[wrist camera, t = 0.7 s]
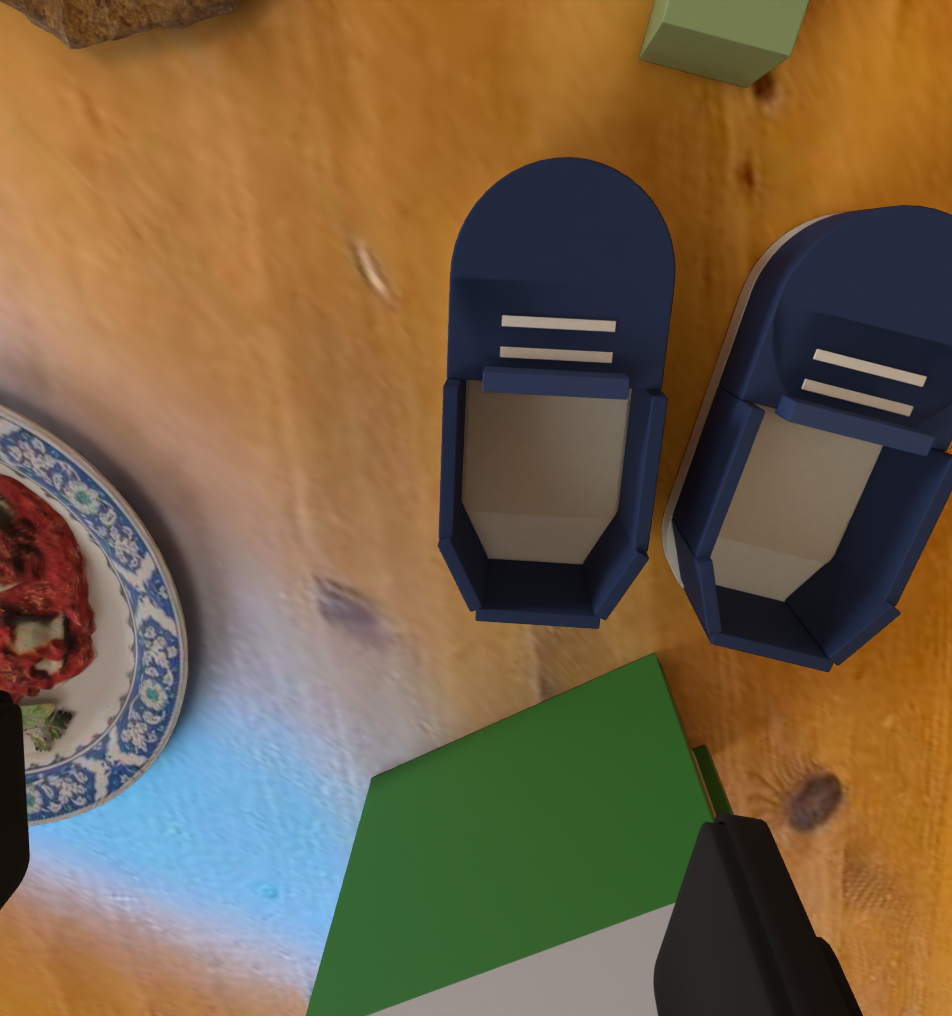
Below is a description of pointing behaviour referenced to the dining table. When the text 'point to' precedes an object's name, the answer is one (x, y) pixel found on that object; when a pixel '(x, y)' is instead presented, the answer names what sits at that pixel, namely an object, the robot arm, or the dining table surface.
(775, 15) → the green block
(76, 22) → the decorative rock
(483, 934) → the hardback book
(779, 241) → the sneaker
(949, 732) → the dining table surface
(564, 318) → the sneaker
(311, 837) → the dining table surface
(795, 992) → the robot arm
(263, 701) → the dining table surface
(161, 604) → the ceramic plate
